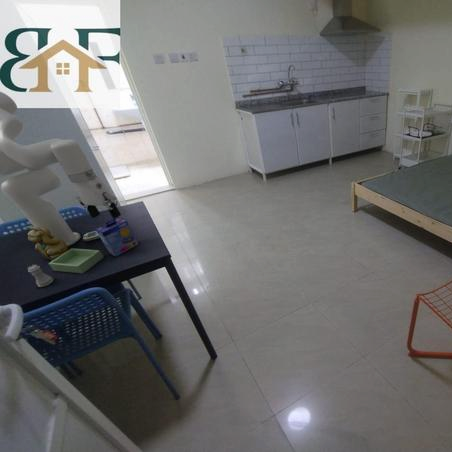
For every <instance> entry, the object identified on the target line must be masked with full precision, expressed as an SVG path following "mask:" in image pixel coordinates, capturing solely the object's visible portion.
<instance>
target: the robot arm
mask: <svg viewBox="0 0 452 452" xmlns="http://www.w3.org/2000/svg"><path fill="white" fill-rule="evenodd" d="M17 112H18V106H17V104H16V102H15V100H14V99H12V97H10V96H9V95H7V94H6V93H4V92H3V91H0V178H1V177H5V176H10V175H12V174H15V173H19V172H22V171H25V170H27V171H26V172H22V173H20V174H17V175H15V176H12V177H9V178H7V179H5V180H4V181H3V182H2V183H1V184H0V191H1V192H2V194H4V196H6V197H7V198H8V199H9V200H10V201H11V202H12V203H13V204H15V206H16V207H17V208H18V209H19V210H20V211H21V212H22V214H23V215H24V216H25V217H26V219H27V220H28V221H29V223H30V224H31V226H33V227H39V228H46V229H48V230H49V231H50V233H51V235H52V236H54V237H56V238H59V239H61V240H63V241H64V242H65V243H66V245H67V246H68V247H70V246H72V245H74V244H75V243H77V242H78V241H79V240H80V239H81V234H80V233H78V232H74V231H73V230H72V228H70V226H69V225H68V223H67V222H66V220H65V219H64V217H63V216H62V214H61V213H60V211H59V210H58V209H57V207H56V206H55V204H53V202H51V201H50V200H47V199H45V198H43V197H41V196H43V195H45V194H47V193H49V192H52V191H54V190H57V189H58V188H60V187H61V186H62V180H61V178H60V176H59V175H58V174H57V173H56V171H55V170H54V169H52V167H50V166H52V165H55V164H57V163H59V165H60V167H61V169H62V170H63V172H64V173H65V175H66V176H67V178H68V180H69V181H70V183H71V184H72V187H73V189H74V191H75V193H76V195H77V196H76V197H75V200H77V202H78V203H79V204H80V205H81V206H83V208H84V209H85V210H87V212H88V214H89V215H90V217H91V218H92V219H95V218H97V217H99V216H100V215H101V212H100V211H99V210H98V208H97V206H104V207H105V208H107V209H108V210H107V211H108V212H109V214H110V216H111V217H112V220H113V219H115V220H116V219H118V218H120V216H122V214H121V212H120V210H119V209H118V198H117V197H116V196H114V195H112V193H111V192H110V190H109V188H108V186H107V185H106V184H105V183H104V182H103V180H102V179H101V178H100V177H99V176H98V175H97V174H96V172H95V170H94V169H93V167H92V164H91V163H90V161H89V160H88V158H87V156H86V154H85V152H84V150H83V149H82V147H81V145H80V144H79V142H77V141H76V140H75V139H63V138H50V139H46V140H43V141H41V140H40V141H38V142H35V143H30V144H27V145H24V144H21V143H17V142H16V140H17V139H18V138H19V137H20V136H21V135H22V134H23V132H24V129H25V125H24V122H23V121H22V120H21V118H19V117H17V116H16V114H17Z"/></svg>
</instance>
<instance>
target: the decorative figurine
mask: <svg viewBox="0 0 452 452" xmlns="http://www.w3.org/2000/svg"><path fill="white" fill-rule="evenodd" d="M25 228H26V229H28V230H30V231H28V233H27V236H28V237H27V240H28V241H29V242H32V243H34V244H35V246H34V249H35V250H36V251H38V252H39V253H40V255H41V256H42V257H44V258H45V259H49V260H50V261H53V260H55V259H56V258H58V257H59V256H61V255H62V254H64V253H65V252H67V251H68V250H69V246H67V245H66V243H65V242H64V241H63V240H61V239H59V238H56V237H54V236H52V235H51V233H50V231H49V230H48V229H46V228H39V227H34V226H33V225H28V226H25Z"/></svg>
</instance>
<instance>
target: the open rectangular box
mask: <svg viewBox="0 0 452 452" xmlns="http://www.w3.org/2000/svg"><path fill="white" fill-rule="evenodd" d="M103 259H105V256H104V255H103V254H102V252H101V250H97V249H86V248H75V247H74V248H70V249H68V250H67V252H65V253H64V254H62V255H61V256H59V257H58V258H56V259H55V260H50V262H48V265H49V267H50V268H51V269H52V271H54V272H64V273H65V272H66V273H74V274H84V273H86V272H87V271H88V270H90V269H91V268H92V267H94V266H95V265H96V264H97V263H99V262H101V260H103Z"/></svg>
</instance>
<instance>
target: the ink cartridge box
mask: <svg viewBox="0 0 452 452" xmlns="http://www.w3.org/2000/svg"><path fill="white" fill-rule="evenodd" d="M95 232H96V234H97V235H98V237H99V238H100V240H101V241H102V243H103V244H104V246H105V248H106V249H107V251H108V252H109V254H111V255H112V256H114V257H119V256H120V255H121V254H124V253H125V252H127V251H129V250H130V249H133V248H134V247H136V246H138V245H139V242H138V240H137V238H136V235H135V233H134V232H133V230H132V228H131V226H130V224H129V221H127V220H126V219H123V218H122V217H118V218H116V219H113V218H112V219H111V220H109V221H107V222H105V224H103V225H101V226H99V227H98V228H96V229H95Z"/></svg>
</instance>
